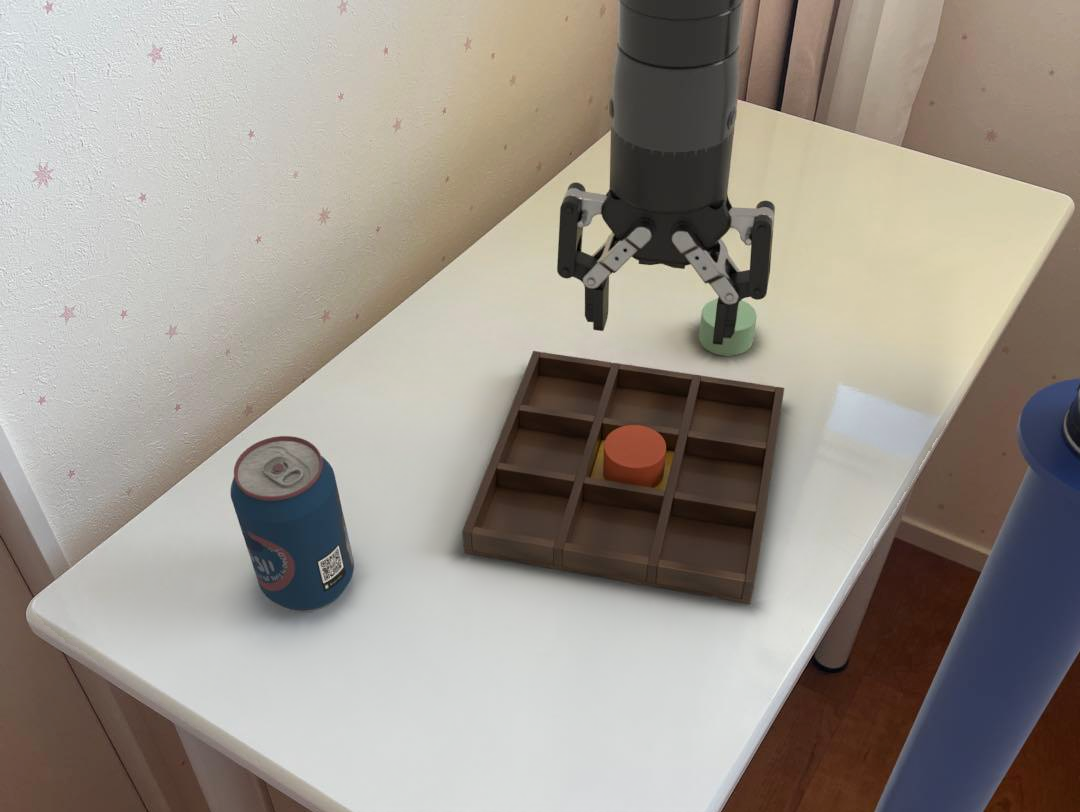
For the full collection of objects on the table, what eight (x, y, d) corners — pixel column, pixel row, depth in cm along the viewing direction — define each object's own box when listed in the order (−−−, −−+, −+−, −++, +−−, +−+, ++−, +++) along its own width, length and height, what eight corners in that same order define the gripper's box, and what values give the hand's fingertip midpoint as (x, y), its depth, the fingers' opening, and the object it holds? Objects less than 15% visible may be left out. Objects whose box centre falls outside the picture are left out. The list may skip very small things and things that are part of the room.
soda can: (241, 586, 81) (201, 470, 72) (312, 532, 84) (283, 415, 75) (305, 635, 78) (272, 520, 69) (376, 576, 81) (353, 460, 72)
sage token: (755, 326, 100) (759, 301, 98) (749, 359, 97) (753, 334, 95) (702, 319, 101) (705, 294, 99) (695, 351, 98) (698, 326, 96)
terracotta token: (668, 455, 88) (671, 429, 86) (658, 497, 85) (660, 472, 83) (609, 446, 89) (610, 420, 87) (597, 487, 86) (598, 462, 84)
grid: (780, 409, 93) (784, 387, 91) (750, 604, 79) (754, 583, 77) (533, 372, 96) (533, 350, 95) (464, 552, 83) (461, 531, 81)
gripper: (796, 96, 68) (764, 311, 80) (570, 77, 70) (572, 289, 83) (786, 158, 63) (753, 377, 75) (544, 136, 66) (550, 351, 78)
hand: (659, 330), depth 79 cm, fingers open, 8 cm apart
